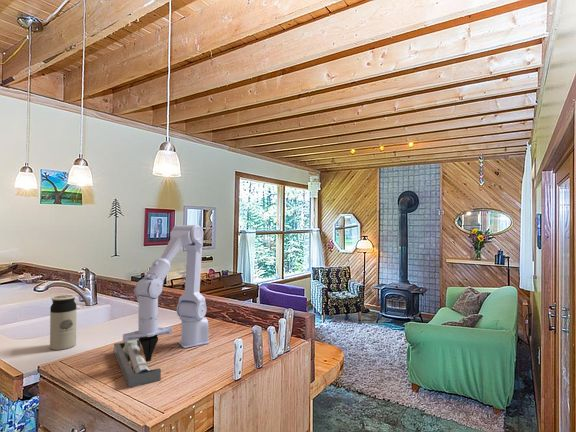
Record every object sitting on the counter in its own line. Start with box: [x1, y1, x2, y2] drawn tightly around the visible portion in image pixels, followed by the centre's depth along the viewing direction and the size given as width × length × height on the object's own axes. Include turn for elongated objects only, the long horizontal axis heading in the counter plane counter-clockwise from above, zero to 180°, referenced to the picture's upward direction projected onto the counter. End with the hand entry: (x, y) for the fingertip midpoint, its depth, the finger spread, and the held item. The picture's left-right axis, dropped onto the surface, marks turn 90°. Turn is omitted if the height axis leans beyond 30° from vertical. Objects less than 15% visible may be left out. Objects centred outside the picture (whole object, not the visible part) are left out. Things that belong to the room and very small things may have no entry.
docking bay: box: [113, 339, 162, 389], centre depth 112 cm, size 8×31×3 cm, turn 33°
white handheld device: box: [122, 339, 150, 374], centre depth 111 cm, size 5×7×25 cm
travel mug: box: [49, 294, 77, 351], centre depth 129 cm, size 8×8×18 cm
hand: (148, 360), depth 112 cm, fingers closed
